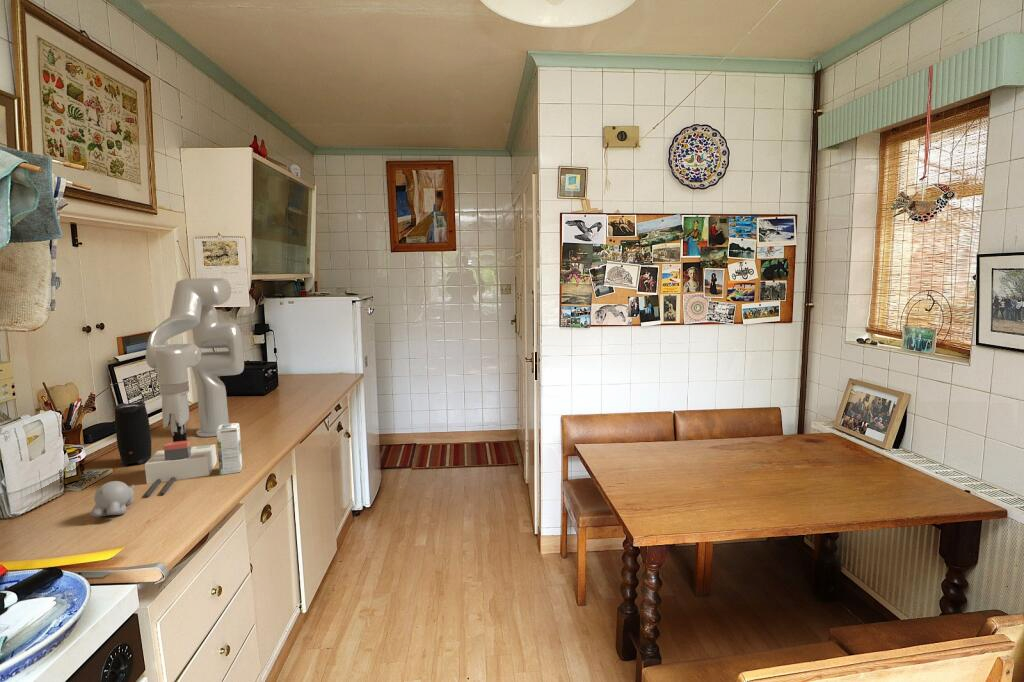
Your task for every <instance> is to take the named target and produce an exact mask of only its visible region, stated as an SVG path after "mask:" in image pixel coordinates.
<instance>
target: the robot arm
mask: <svg viewBox="0 0 1024 682" xmlns="http://www.w3.org/2000/svg"><path fill="white" fill-rule="evenodd" d="M231 294H232V287H231V283H230V282H229V281H228V280H227V279H226V278H221V277H220V278H217V277H216V278H215V277H214V278H201V277H200V278H184V279H180V280H177V282H176V283H175V286H174V291H173V295H172V302H171V308H170V312H169V313H170V314H169V317H168V318H166V319H165V320H163V321H161V323H159V324H158V325H157V326H156V327H155V328H154V329H153V330H152V332H151V333H150V335H149V336H148V340H147V344H146V350H145V362H146V365H147V366H148V367H149V368H151V369H155V370H156V372H157V373H156V374H157V381H158V388H159V390H158V392H159V396H162V397H161V398H162V399H161V414H162V415H161V418H162V427H163V428H164V429H168V428H169V427H170V432H171V435H172V442H178V441H187V440H188V438H187V430H186V426H187V425H186V423H187V422H188V421H189V419H190V408H189V401H188V394H187V393H190V382H189V375H188V374H189V373H188V368H191V370H192V373H193V377H194V380H195V381H194V382H195V386H196V394H197V395H196V396H197V406H198V413H199V414H198V415H199V423H200V424H199V426H200V428H199V429H198V430H196V432H195V433H196V436H197V437H203V438H204V437H205V438H209V437H217V429H218V427H219V425H223V424H230V420H229V410H228V400H227V399H228V398H227V390H226V385H225V383H224V382H223V381H222V380H221V378H219V377H222V376H223V377H224V376H236V375H240V374H241V373H243V372H244V370H245V357H244V348H243V339H242V331H241V329H240V326H239V325H238V324H237V323H235V322H219V319H218V312H217V309H216V308H215V306H219V305H223V304H224V303H226V302H228V301H229V299H230V298H231ZM190 330H192V331H191V332H192V338H193V339H192V341H193V344H192V343H180V344H179V343H175V344H165V343H166V342H167V341H168V340H169V339H172V338H174V337H175V336H178V335H180V334H183V333H185V332H187V331H190ZM223 348H225V349H227V350H219V351H217V350H216V351H215V350H214V351H201V350H200V349H223Z"/></svg>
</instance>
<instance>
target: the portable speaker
mask: <svg viewBox="0 0 1024 682" xmlns="http://www.w3.org/2000/svg"><path fill="white" fill-rule="evenodd" d="M114 415H115V416H114V425H115V427H114V428H115V436H116V442H117V449H118V453H119V457H120V461H121V465H122V466H125V467H128V466H129V465H131V464H136V463H137V464H138V465H142V464H145V463H146V462H147V461H148V460H149V459H150V458H151V457H152V435H151V434H152V433H151V428H150V427H151V426H150V419H149V415H148V412H147V408H146V402H144V401H137V402H132V403H125V402H124V403H119V404H117V405H115V406H114Z"/></svg>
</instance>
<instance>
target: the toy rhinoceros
mask: <svg viewBox="0 0 1024 682" xmlns="http://www.w3.org/2000/svg"><path fill="white" fill-rule="evenodd" d="M134 488H135V484H131V485H130V486H129V485H127V484H126V483H125V482H123V481H119V480H114V481H113V480H111V481H108V482H105V483H104V484H102V485H101V486H99V487H98V488H97V489H96V491H95V494H94V503H95V505H94V506H93V508H92V509H91V511H90V516H91V517H102V516H103V517H106V516H111V515H114V516H115V515H116V516H120V515H124V514H126V512H127V507H126V506H129V505H130V504H133V502H134V497H135V491H134Z"/></svg>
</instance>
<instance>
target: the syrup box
mask: <svg viewBox="0 0 1024 682" xmlns="http://www.w3.org/2000/svg"><path fill="white" fill-rule="evenodd" d="M241 440H242V439H241V428H240V423H238V422H237V423H236V422H233V423H232V422H231V423H230V422H229V424H223V425H219V427H218V429H217V436H216V441H217V442H216V443H217V455H218V467H219V475H220V476H223V475H231V474H235V473H241V471H242V468H243V457H242V443H241Z"/></svg>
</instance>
